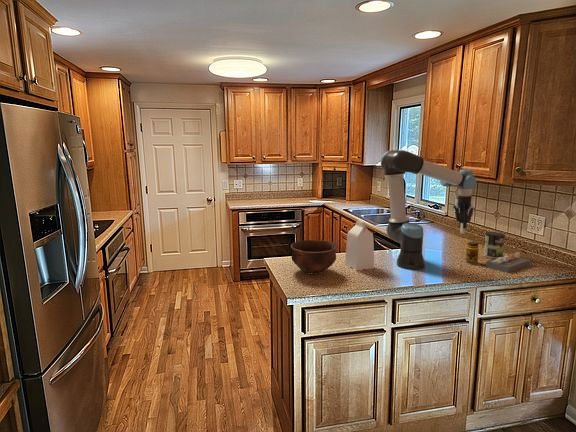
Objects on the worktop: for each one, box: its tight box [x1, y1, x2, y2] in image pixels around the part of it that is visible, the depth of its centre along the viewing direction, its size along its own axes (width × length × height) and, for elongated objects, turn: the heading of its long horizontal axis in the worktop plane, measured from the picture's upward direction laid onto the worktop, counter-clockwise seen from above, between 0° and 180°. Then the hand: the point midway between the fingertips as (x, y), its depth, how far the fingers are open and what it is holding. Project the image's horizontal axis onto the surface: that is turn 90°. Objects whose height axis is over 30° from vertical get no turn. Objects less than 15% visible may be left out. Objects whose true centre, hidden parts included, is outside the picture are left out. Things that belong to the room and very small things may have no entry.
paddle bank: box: [497, 251, 521, 264], centre depth 208 cm, size 21×1×3 cm, turn 122°
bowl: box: [290, 239, 338, 275], centre depth 201 cm, size 25×25×15 cm
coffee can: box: [483, 231, 506, 259], centre depth 226 cm, size 10×10×14 cm
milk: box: [344, 219, 375, 271], centre depth 208 cm, size 12×12×26 cm
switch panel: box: [484, 254, 532, 274], centre depth 208 cm, size 24×12×3 cm, turn 122°
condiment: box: [461, 241, 481, 266], centre depth 214 cm, size 7×8×12 cm
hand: (462, 233), depth 230 cm, fingers closed
